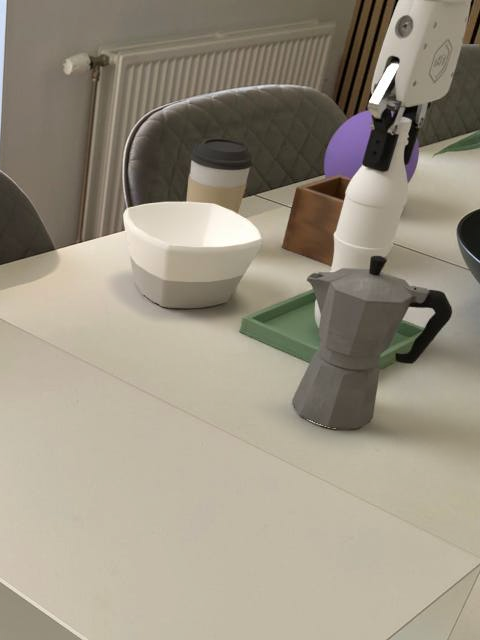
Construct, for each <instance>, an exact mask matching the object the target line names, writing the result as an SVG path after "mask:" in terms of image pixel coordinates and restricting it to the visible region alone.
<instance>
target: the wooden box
mask: <svg viewBox="0 0 480 640" xmlns="http://www.w3.org/2000/svg"><path fill="white" fill-rule="evenodd" d="M351 179H352V178H349V177H346V176H343V175H340V174H338V175H334V176H331V177H328V178H322V179H318V180H316V181H311V182H309V183H305V184H302V185H299V186H296V188H295V192H294V195H293V200H292V204H291V208H290V212H289V216H288V221H287V224H286V229H285V231H284V232H285V233H284V237H283V241H282V244H281V248H283V249H284V250H285V249H286V250H288V251H290V252H293V253H296V254H299V255H302V256H305V257H306V258H308V259H311V260H315V261H316V262H320V263H322V264H325V265H328V266H331V267H332V263H333V256H334V233H335V232H336V229H337V225H338V221H339V218H340V214H341V210H342V207H343V203H344V199H345V196H346V194H345V192H346V189H347V187H348V185H349V183H350V181H351Z"/></svg>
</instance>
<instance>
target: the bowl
mask: <svg viewBox="0 0 480 640" xmlns="http://www.w3.org/2000/svg"><path fill="white" fill-rule="evenodd" d="M122 218H123V219H122V220H123V227H124V232H125V239H126V243H127V248H128V255H129V259H130V264H131V270H132V277H133V281H134V285H135V286H136V288H137V289H138V291H139V293H140V294H141V295H143V296H144V295H145V296H144V297H146V298H147V299H149V300H150V301H151V302H153V303H155V304H156V303H157V304H156V305H158V304H159V305H158V306H160V307H162V308H166V307H167V309H201V308H208V307H214V306H217V305H221V304H225V303H227V302H228V301H229V300H230V298H231V296H232V295H233V294H234V291H235V290H236V289H237V287H238V285H239V284H240V282H241V280H242V278H243V277H244V275H245V274H246V272H247V271H248V269H249V267H250V266H251V264H252V263H253V261H254V260H255V258H256V256H257V254H258V253H259V251H260V250H261V248H262V246H263V239H262V236H261V233H260V230H259V228H258V227H256V226H255V224H254V223H252V222H251V221H250V219H248V218H246V217H245V216H243V215H241V214H239V213H238V214H237V213H235V212H234V211H231V210H229V209H226V208H224V207H221V206H219V205H216V204H212V203H199V202H186V201H160V202H152V203H150V202H149V203H143V204H139V205H134V206H130V207H127V208H125V210H124V212H123V216H122Z"/></svg>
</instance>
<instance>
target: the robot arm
mask: <svg viewBox="0 0 480 640" xmlns="http://www.w3.org/2000/svg"><path fill="white" fill-rule="evenodd" d="M472 1H473V0H398V1H397V3H396V6H395V9H394V11H393V14H392V16H391V19H390V22H389V25H388V28H387V30H386V34H385V37H384V39H383V43H382V46H381V48H380V49H381V50H380V52H379V55H378V59H377V62H376V65H375V70H374V74H373V78H372V81H371V88H370V93H371V97H370V99H369V101H368V103H367V110H369V111H370V113H371V114H372V122H371V126H370V128H371V129H372V130H371V133H370V137H369V140H368V144H367V148H366V151H365V155H364V158H363V162H362V164H363V166H365V167H368V168H371V169H374V170H378V171H381V172H386V171H388V170H389V167H390V163H391V160H392V157H393V153H394V150H395V147H396V143H397V140H398V137H399V134H395V133H396V131H397V129H398V126H399V123H400V121H401V118H402V117H406V118H409V119H411V120H412V122H411V127H410V130H409V132H408V135H409V137H408V138H407V140H408V144H407V145H405V149H404V164H405V165H407V164H408V163H409V161H410V158H411V155H412V152H413V149H414V145H415V142H416V139H418V136H419V132H420V128H421V127H422V126H423V124H424V122H425V118H426V115H427V111H428V110H429V109H430V107H431V106H432V103H433V102H434V101H437V100H439V99H442V98H444V96H446V95H447V94H448V92H449V91H450V88H451V84H452V82H453V78H454V75H455V71H456V68H457V65H458V62H459V57H460V55H461V54H460V53H461V51H462V46H463V42H464V38H465V34H466V30H467V26H468V20H469V15H470V10H471V3H472ZM393 96H395V99H396V100H393V99H389V97H393ZM388 107H390V108H393V109H394V111H393V112H394V114H393V117H392V114H391V111H392V110H391V109H390V108H388Z"/></svg>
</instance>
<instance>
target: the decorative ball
mask: <svg viewBox="0 0 480 640" xmlns="http://www.w3.org/2000/svg"><path fill="white" fill-rule="evenodd" d="M391 114H392V116H393V114H394V111H392V110H391ZM371 122H372V114H371V113H370V111H369V109H367V110H364V111H361V112H359V113H357V114H355V115H353V116H351V117H349V118H348V119H347V120H346V121H344V122H343V124H341V125H340V126H339V127H338V128H337V130H336V131H335V132H334V134H333V135H332V137H331V139H330V140H329V143H328V146H327V148H326V151H325V155H324V160H323V171H324V176H325V178H328V177H331V176H334V175H338V174H340V175H343V176H346V177H349V178H353V176H354V175H355V174H356V173H357V171H358V170H359V169H360V167H361V166H362V165H363V164H362V162H363V158H364V155H365V151H366V148H367V144H368V140H369V137H370V133H371V130H372V129H371V128H370V126H371ZM419 157H420V145H419V139H418V138H417V139H416V142H415V145H414V149H413V152H412V155H411V158H410V161H409V163H408V164H407V165H405V170H406V175H407V182H408V184H410V182H411V180H412V179H413V176H414V174H415V172H416V169H417V167H418V163H419ZM325 178H324V179H325Z"/></svg>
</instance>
